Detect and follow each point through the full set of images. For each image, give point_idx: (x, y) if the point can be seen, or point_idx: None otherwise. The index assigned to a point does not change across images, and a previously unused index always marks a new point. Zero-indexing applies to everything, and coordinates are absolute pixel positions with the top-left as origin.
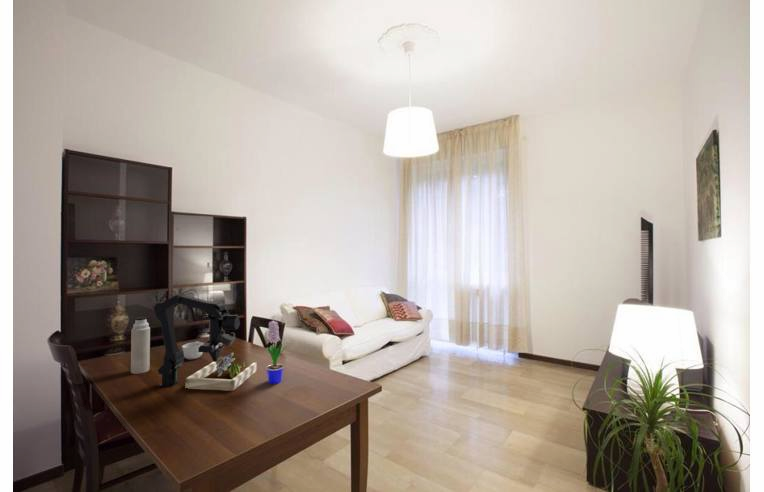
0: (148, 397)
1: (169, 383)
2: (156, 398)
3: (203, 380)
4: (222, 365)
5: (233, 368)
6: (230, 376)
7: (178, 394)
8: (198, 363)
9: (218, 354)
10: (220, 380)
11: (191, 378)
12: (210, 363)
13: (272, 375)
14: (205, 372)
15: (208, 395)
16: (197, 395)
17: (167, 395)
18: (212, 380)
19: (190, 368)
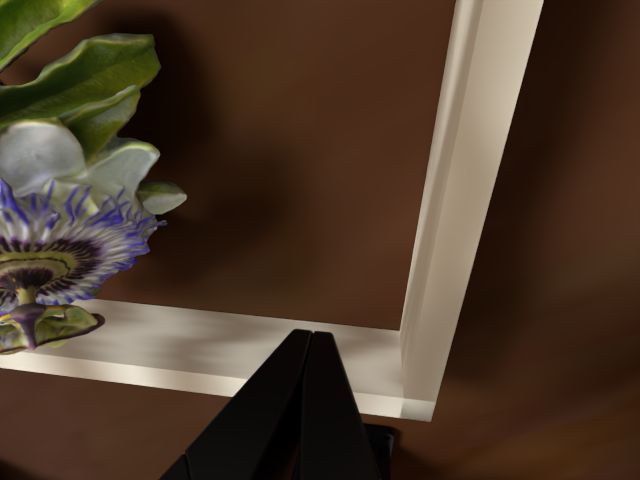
0: (551, 468)
1: (379, 455)
2: (581, 434)
3: (465, 273)
4: (85, 240)
5: (47, 74)
6: (154, 75)
7: (537, 351)
8: (11, 423)
9: (235, 459)
10: (529, 42)
11: (427, 385)
12: (46, 372)
13: None
14: (178, 338)
15: (635, 99)
16: (600, 211)
17: (541, 401)
18: (495, 170)
19: (96, 433)
